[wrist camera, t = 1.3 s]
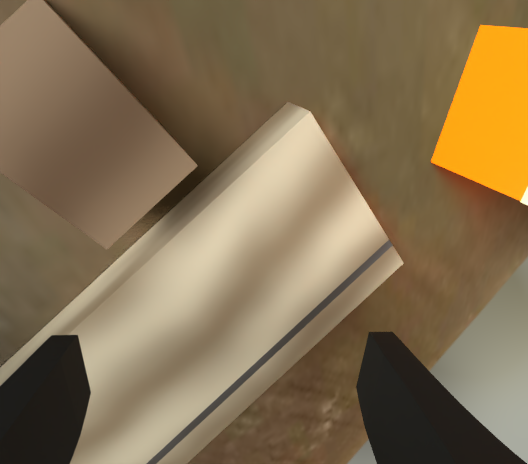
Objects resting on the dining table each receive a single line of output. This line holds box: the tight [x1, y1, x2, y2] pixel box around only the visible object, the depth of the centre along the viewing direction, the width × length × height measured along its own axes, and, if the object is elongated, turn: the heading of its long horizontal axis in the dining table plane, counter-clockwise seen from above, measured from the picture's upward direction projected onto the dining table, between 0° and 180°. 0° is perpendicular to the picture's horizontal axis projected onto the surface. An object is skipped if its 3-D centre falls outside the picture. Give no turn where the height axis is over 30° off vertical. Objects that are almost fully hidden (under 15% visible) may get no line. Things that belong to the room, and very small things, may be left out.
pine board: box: [0, 102, 403, 464], centre depth 22 cm, size 12×30×2 cm, turn 127°
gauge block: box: [0, 0, 198, 249], centre depth 14 cm, size 8×4×5 cm, turn 37°
